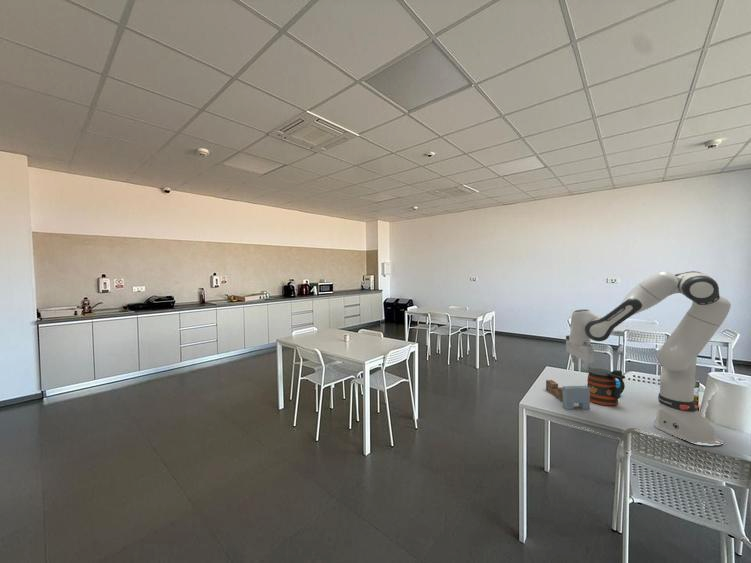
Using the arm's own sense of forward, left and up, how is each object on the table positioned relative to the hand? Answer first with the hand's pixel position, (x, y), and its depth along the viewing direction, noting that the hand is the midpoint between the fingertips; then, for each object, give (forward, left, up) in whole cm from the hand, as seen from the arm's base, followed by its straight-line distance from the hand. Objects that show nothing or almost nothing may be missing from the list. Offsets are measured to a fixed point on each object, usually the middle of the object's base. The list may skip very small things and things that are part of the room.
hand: (579, 365), depth 162 cm
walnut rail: (+14, +3, -22) cm, 26 cm away
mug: (+15, -30, -22) cm, 40 cm away
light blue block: (-1, +2, -22) cm, 22 cm away
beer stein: (+5, -18, -22) cm, 29 cm away
